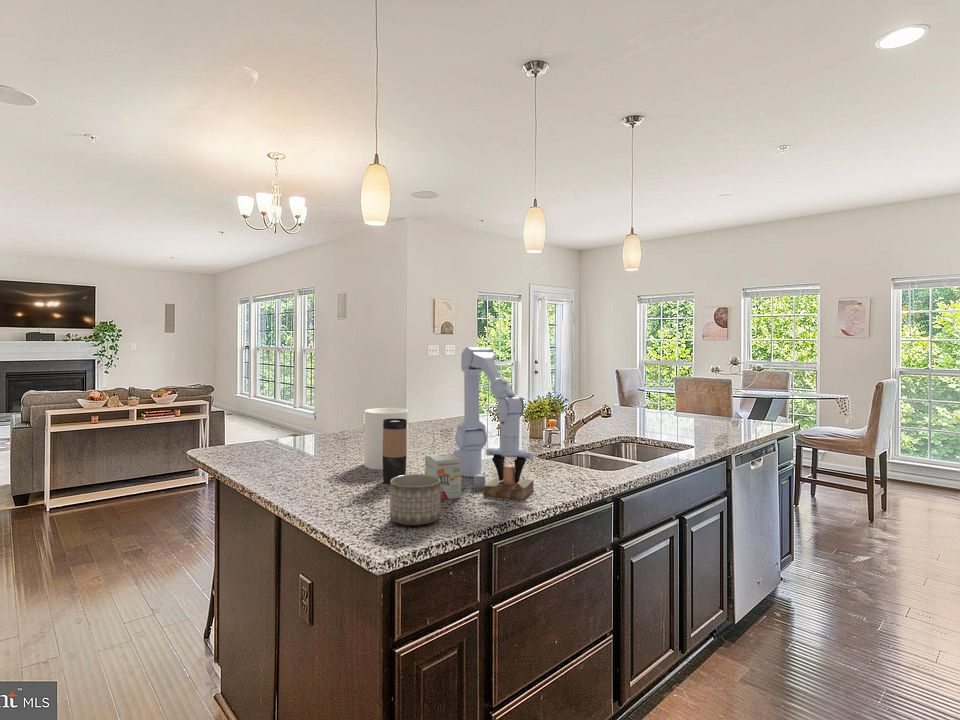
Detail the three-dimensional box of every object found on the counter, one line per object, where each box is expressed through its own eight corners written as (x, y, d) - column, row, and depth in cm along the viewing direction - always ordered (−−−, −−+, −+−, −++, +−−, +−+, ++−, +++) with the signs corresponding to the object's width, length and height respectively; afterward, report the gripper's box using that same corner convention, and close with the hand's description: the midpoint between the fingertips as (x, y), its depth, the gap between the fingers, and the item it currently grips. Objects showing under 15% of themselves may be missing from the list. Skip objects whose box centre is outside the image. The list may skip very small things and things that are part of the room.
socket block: (483, 495, 160) (483, 485, 159) (496, 485, 171) (496, 476, 171) (522, 500, 155) (522, 489, 155) (533, 489, 166) (533, 480, 166)
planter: (388, 514, 141) (388, 475, 141) (436, 511, 144) (436, 473, 144) (391, 530, 129) (392, 487, 128) (443, 527, 132) (444, 485, 131)
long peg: (501, 493, 162) (501, 467, 162) (504, 490, 165) (505, 464, 165) (513, 494, 161) (513, 468, 161) (516, 491, 164) (516, 465, 164)
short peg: (471, 489, 167) (472, 476, 166) (476, 486, 170) (476, 473, 170) (482, 490, 165) (482, 477, 165) (486, 487, 169) (487, 474, 168)
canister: (414, 461, 204) (414, 408, 203) (398, 471, 188) (399, 414, 188) (375, 458, 207) (375, 407, 207) (356, 467, 192) (356, 412, 191)
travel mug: (410, 480, 176) (411, 419, 175) (397, 485, 169) (398, 422, 168) (391, 477, 179) (391, 417, 178) (377, 482, 172) (378, 420, 171)
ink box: (434, 501, 153) (435, 460, 153) (423, 493, 161) (424, 454, 160) (462, 497, 157) (462, 457, 157) (450, 490, 165) (450, 452, 164)
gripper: (482, 436, 161) (482, 481, 162) (529, 440, 156) (528, 486, 157) (490, 432, 168) (490, 476, 168) (535, 436, 163) (534, 480, 163)
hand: (509, 480), depth 163 cm, fingers open, 4 cm apart
